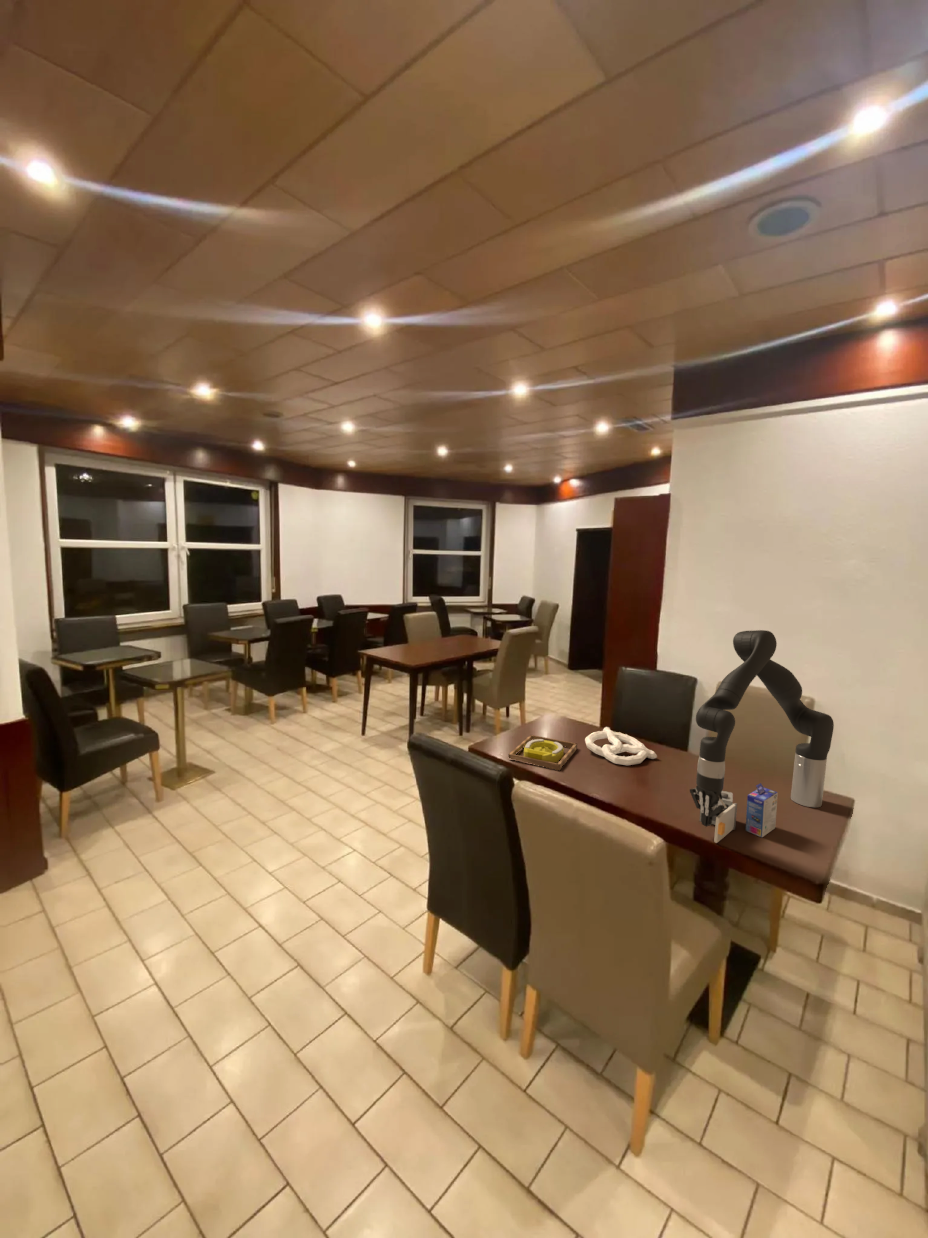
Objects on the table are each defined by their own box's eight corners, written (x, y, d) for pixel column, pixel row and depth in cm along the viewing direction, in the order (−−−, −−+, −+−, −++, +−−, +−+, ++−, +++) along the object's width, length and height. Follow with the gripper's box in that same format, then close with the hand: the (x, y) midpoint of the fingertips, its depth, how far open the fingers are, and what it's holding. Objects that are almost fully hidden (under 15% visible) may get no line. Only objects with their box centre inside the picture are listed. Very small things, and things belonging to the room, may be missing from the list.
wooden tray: (530, 739, 238) (530, 734, 237) (577, 748, 228) (577, 743, 227) (508, 760, 214) (508, 754, 213) (559, 770, 204) (559, 764, 203)
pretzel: (660, 761, 219) (663, 747, 218) (626, 776, 206) (628, 761, 204) (608, 734, 241) (610, 721, 239) (574, 746, 227) (576, 733, 226)
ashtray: (515, 761, 213) (516, 749, 213) (532, 745, 232) (533, 734, 231) (553, 769, 206) (554, 757, 205) (568, 752, 224) (568, 741, 224)
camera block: (700, 812, 173) (702, 784, 171) (730, 818, 168) (732, 790, 167) (699, 821, 166) (701, 793, 165) (730, 828, 162) (732, 799, 161)
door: (713, 842, 153) (716, 816, 152) (731, 827, 162) (734, 802, 161) (720, 845, 152) (723, 819, 151) (738, 830, 161) (740, 805, 160)
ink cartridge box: (757, 821, 167) (761, 779, 165) (775, 828, 163) (780, 785, 161) (743, 830, 161) (747, 787, 160) (762, 838, 157) (766, 793, 155)
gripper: (684, 765, 159) (680, 817, 162) (719, 783, 147) (714, 838, 150) (702, 761, 162) (697, 812, 165) (738, 779, 150) (733, 834, 153)
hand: (706, 825), depth 157 cm, fingers closed
